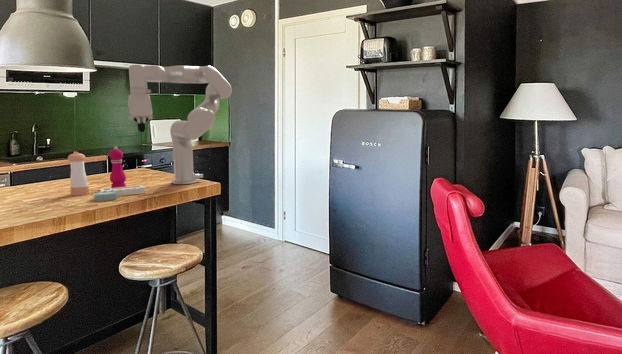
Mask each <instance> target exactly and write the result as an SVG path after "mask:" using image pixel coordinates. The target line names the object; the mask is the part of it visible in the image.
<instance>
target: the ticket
mask: <svg viewBox="0 0 622 354" xmlns="http://www.w3.org/2000/svg"><path fill="white" fill-rule="evenodd" d="M109 191H115V192H116V197H120V196H121V197H122V196H129V195H130V196H131V195H140V194H141V195H142V194H146V187H145V186H144V185H132V186H131V185H130V186H126V187H118V188H112V187H107V188H100V191H99V192H109Z"/></svg>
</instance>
